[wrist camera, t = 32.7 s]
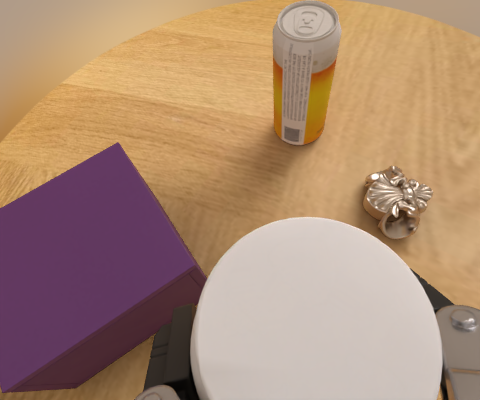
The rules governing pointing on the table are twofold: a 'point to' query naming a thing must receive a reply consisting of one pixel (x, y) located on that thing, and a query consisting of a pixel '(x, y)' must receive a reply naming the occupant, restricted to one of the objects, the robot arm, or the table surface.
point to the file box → (120, 332)
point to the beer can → (303, 69)
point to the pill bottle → (314, 319)
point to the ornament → (395, 201)
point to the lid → (79, 261)
